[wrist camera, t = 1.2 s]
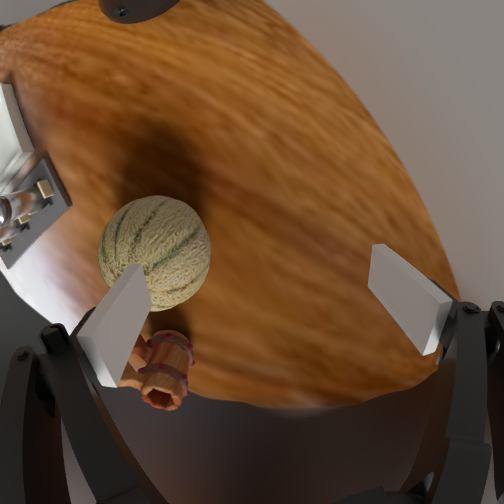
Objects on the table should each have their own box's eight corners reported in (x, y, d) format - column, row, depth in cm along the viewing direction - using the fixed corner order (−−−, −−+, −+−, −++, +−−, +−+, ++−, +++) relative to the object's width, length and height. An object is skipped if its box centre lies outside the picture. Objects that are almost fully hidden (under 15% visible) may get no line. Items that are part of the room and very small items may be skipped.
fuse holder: (-9, 228, 37) (-20, 234, 33) (48, 157, 34) (34, 159, 30) (11, 266, 40) (1, 274, 37) (72, 205, 37) (59, 210, 34)
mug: (206, 340, 48) (199, 404, 34) (185, 365, 50) (174, 425, 36) (136, 299, 44) (104, 355, 30) (120, 328, 46) (91, 383, 32)
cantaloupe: (229, 208, 39) (225, 241, 25) (197, 291, 44) (183, 352, 30) (137, 174, 37) (87, 190, 23) (115, 260, 41) (72, 307, 27)
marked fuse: (11, 216, 35) (-31, 237, 24) (20, 205, 35) (-24, 224, 24) (20, 234, 37) (-21, 258, 26) (29, 223, 36) (-13, 246, 25)
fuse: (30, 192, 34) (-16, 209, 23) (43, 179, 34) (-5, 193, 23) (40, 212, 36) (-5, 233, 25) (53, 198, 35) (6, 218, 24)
